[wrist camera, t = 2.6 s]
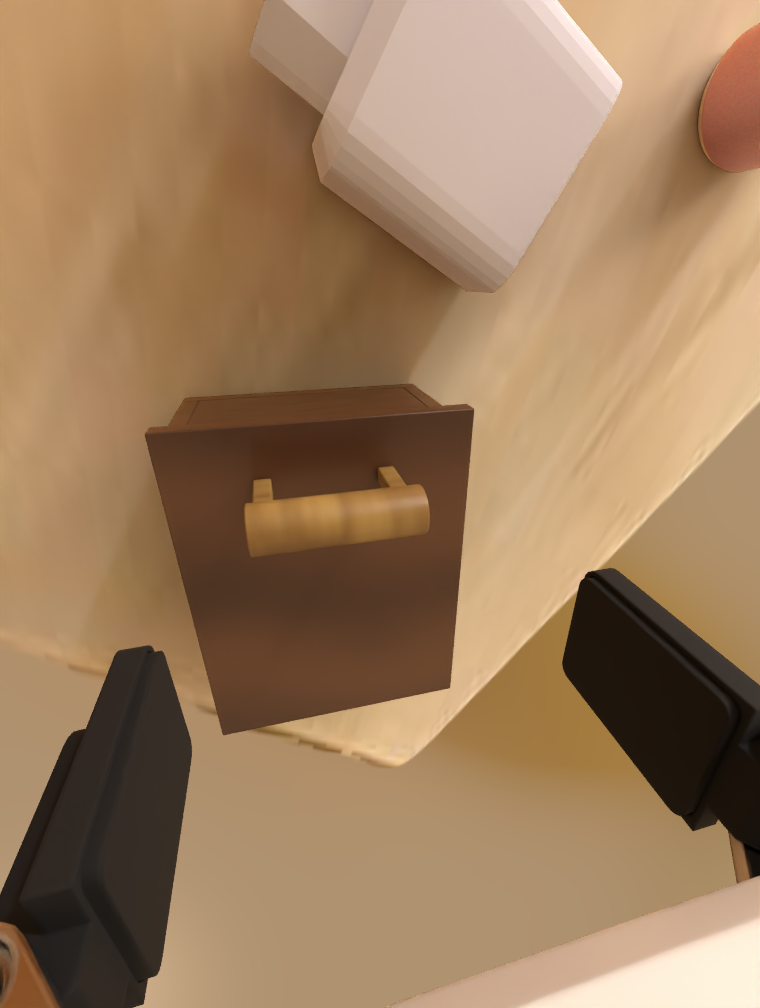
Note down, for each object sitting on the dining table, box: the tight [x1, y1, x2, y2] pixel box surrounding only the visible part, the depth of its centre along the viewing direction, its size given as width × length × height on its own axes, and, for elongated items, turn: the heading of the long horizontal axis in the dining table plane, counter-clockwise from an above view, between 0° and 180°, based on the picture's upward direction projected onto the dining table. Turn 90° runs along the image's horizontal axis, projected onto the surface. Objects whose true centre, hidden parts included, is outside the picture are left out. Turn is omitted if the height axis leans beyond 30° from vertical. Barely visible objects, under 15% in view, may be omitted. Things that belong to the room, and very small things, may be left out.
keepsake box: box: [168, 384, 442, 426], centre depth 25 cm, size 16×13×8 cm
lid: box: [145, 404, 474, 735], centre depth 19 cm, size 16×13×5 cm
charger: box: [249, 0, 622, 293], centre depth 18 cm, size 5×9×15 cm
